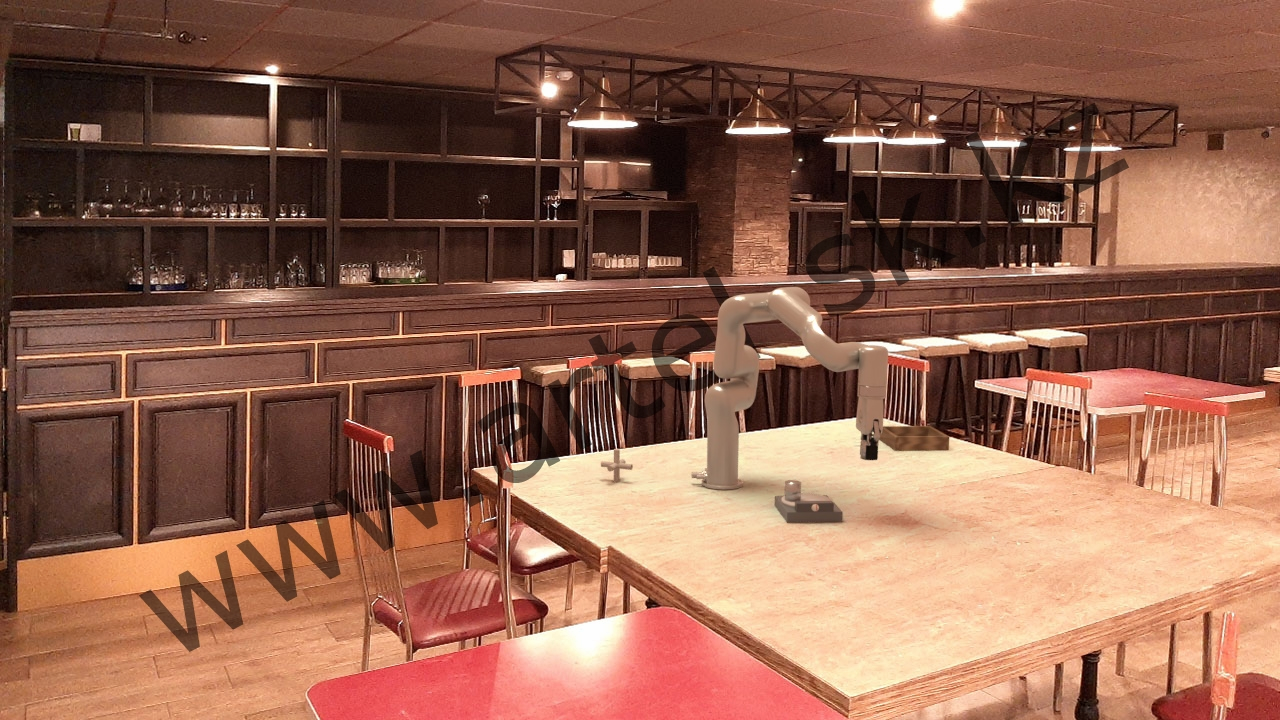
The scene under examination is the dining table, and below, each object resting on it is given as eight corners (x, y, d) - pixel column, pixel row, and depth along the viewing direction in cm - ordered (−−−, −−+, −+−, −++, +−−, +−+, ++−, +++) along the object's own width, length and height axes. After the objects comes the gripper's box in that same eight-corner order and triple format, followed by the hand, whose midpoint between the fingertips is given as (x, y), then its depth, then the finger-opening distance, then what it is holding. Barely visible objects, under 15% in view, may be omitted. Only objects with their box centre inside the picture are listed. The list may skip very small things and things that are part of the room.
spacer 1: (786, 501, 282) (786, 484, 281) (783, 497, 286) (783, 480, 285) (802, 501, 282) (802, 484, 281) (798, 497, 286) (799, 480, 286)
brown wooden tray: (895, 450, 363) (895, 437, 363) (878, 439, 383) (879, 426, 382) (948, 450, 365) (949, 436, 364) (929, 439, 384) (930, 426, 383)
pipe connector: (595, 483, 315) (595, 451, 314) (608, 476, 324) (608, 445, 323) (625, 486, 311) (625, 454, 310) (637, 479, 320) (637, 447, 319)
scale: (787, 522, 274) (787, 503, 274) (774, 505, 292) (774, 487, 291) (842, 522, 276) (843, 503, 275) (826, 504, 293) (827, 486, 292)
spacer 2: (863, 460, 278) (863, 442, 277) (858, 456, 282) (859, 438, 281) (879, 460, 278) (879, 442, 277) (874, 456, 282) (875, 438, 281)
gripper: (849, 386, 285) (846, 450, 288) (867, 396, 269) (863, 465, 271) (876, 386, 286) (873, 450, 288) (895, 397, 269) (891, 465, 272)
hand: (868, 456), depth 280 cm, fingers closed on spacer 2, 4 cm apart
